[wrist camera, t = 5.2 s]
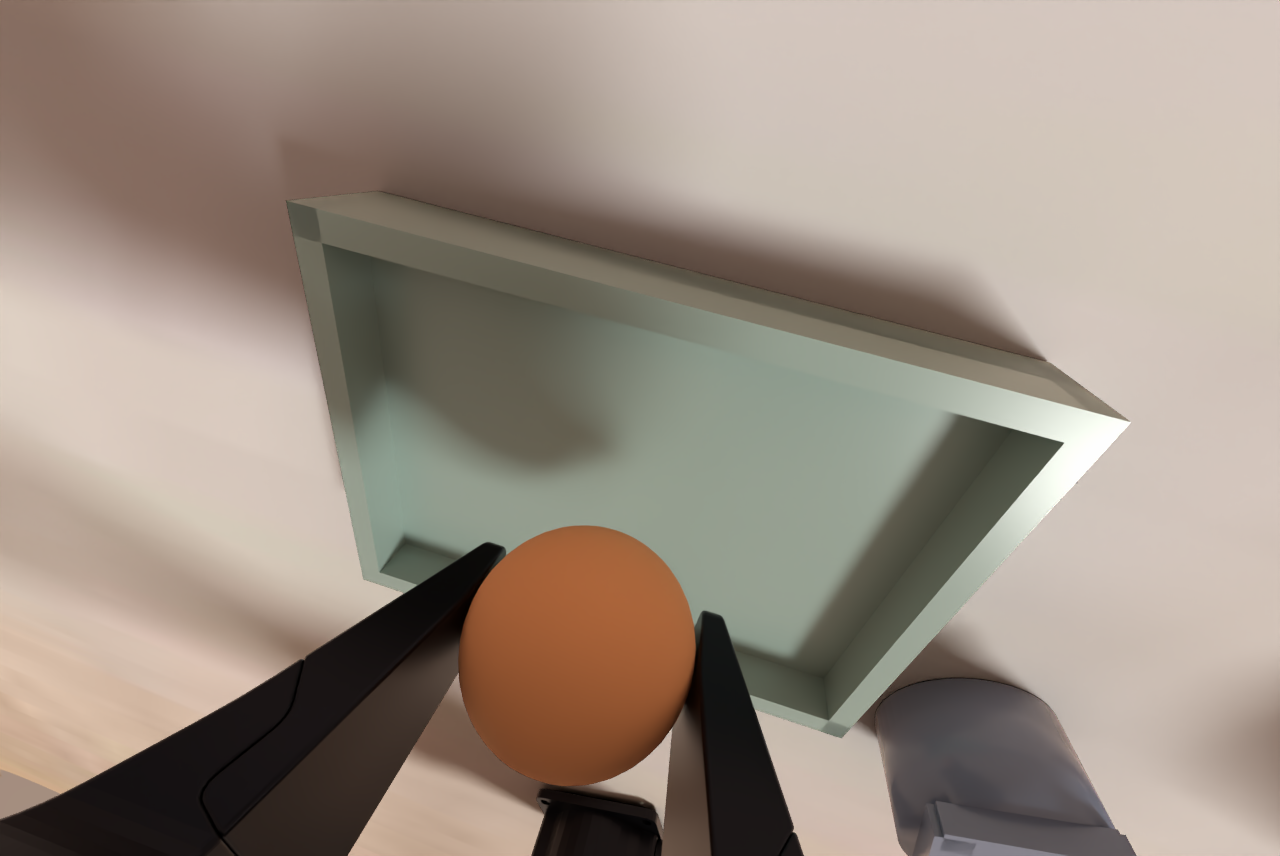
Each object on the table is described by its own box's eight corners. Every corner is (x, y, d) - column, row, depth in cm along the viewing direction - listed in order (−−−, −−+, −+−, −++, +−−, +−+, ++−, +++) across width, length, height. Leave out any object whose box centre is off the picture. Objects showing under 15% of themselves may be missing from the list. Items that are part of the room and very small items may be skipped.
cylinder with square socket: (869, 757, 17) (895, 900, 14) (880, 670, 15) (915, 819, 11) (1038, 781, 16) (1111, 947, 12) (1081, 689, 13) (1186, 865, 10)
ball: (549, 615, 11) (461, 811, 8) (498, 481, 9) (354, 664, 6) (715, 628, 10) (693, 861, 7) (695, 480, 8) (651, 702, 5)
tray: (412, 525, 16) (363, 579, 14) (377, 190, 10) (286, 200, 8) (830, 659, 15) (841, 737, 13) (1050, 362, 9) (1131, 422, 7)
